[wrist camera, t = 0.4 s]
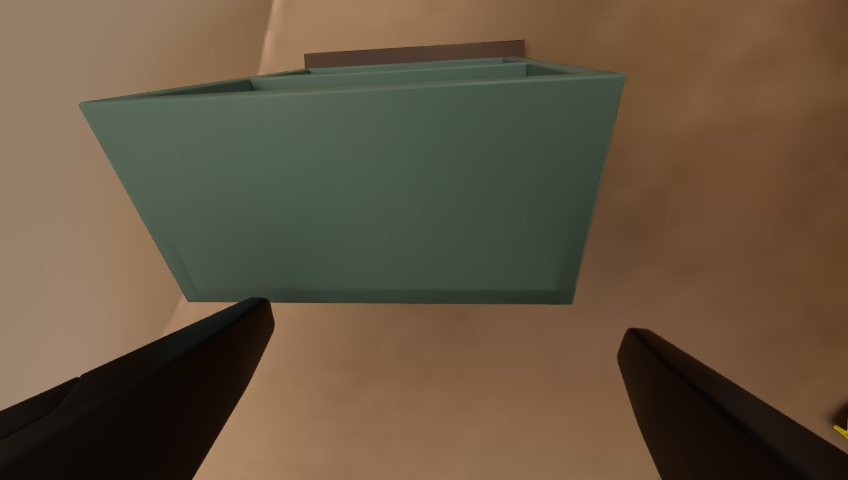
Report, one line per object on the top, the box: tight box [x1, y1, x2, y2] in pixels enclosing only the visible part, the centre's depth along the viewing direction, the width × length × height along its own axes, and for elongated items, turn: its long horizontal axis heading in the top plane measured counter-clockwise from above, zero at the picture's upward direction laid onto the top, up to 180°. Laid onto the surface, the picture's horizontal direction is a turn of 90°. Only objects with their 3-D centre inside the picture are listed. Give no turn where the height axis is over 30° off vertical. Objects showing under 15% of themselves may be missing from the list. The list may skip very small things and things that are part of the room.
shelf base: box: [304, 40, 524, 69], centre depth 20 cm, size 9×13×1 cm
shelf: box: [79, 57, 625, 305], centre depth 13 cm, size 6×11×12 cm, turn 92°
